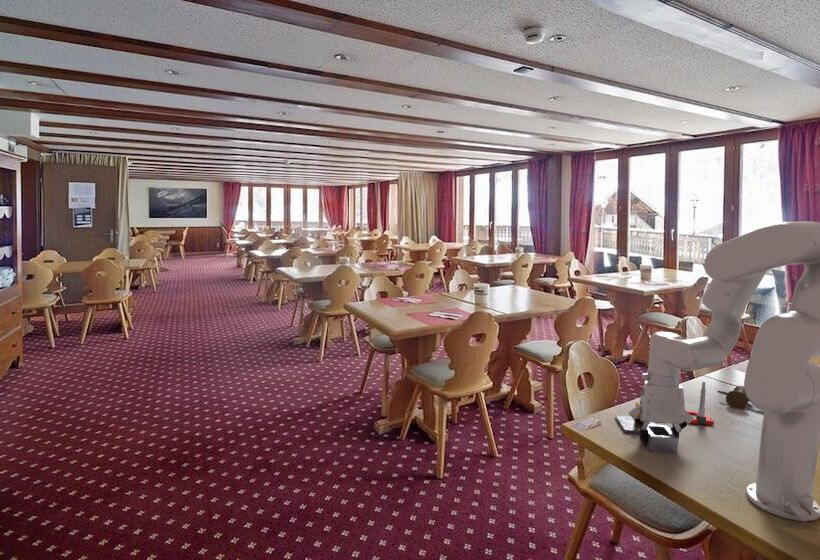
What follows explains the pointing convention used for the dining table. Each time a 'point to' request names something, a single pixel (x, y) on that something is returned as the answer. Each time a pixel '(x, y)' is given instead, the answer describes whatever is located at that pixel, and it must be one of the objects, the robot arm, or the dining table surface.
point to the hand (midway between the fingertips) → (658, 442)
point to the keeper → (630, 423)
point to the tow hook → (701, 411)
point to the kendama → (736, 397)
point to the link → (661, 439)
